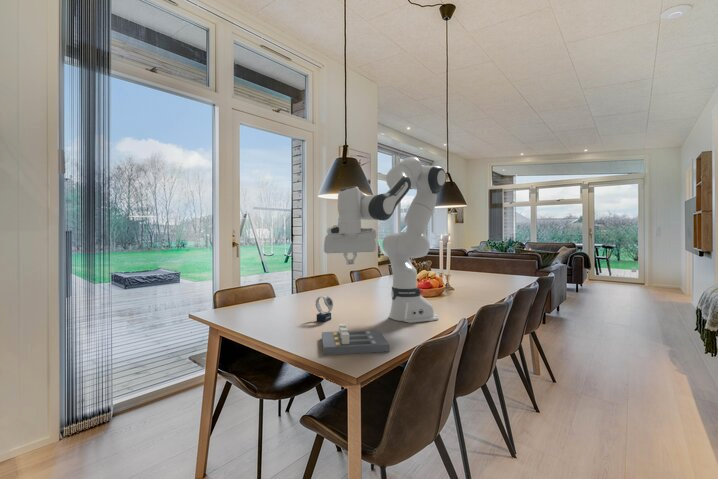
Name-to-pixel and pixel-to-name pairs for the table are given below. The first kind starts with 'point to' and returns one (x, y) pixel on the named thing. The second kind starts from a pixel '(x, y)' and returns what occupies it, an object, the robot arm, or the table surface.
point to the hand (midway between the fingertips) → (350, 264)
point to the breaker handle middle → (343, 331)
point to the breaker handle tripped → (345, 338)
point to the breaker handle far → (341, 326)
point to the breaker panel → (354, 342)
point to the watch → (322, 315)
